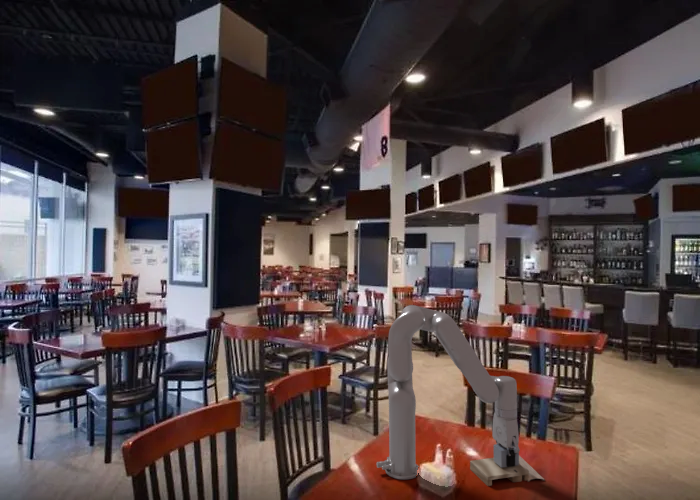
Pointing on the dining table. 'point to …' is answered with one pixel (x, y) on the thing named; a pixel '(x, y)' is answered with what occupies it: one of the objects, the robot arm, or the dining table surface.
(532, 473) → the beige piece
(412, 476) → the robot arm
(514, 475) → the miniature wooden pallet
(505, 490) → the dining table surface
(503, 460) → the grey hollow block
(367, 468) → the dining table surface
